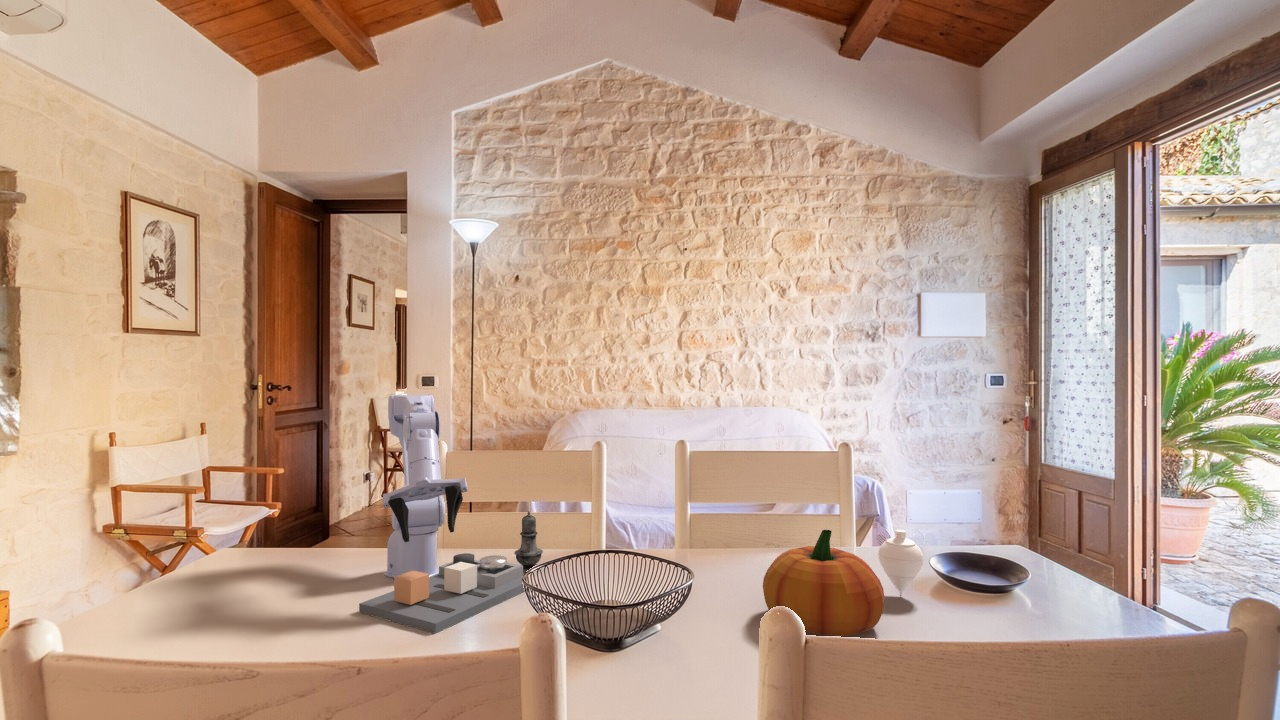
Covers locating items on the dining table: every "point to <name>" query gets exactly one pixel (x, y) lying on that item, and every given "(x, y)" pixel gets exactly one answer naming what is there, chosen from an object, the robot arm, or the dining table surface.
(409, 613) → the panel
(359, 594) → the dining table surface
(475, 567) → the lever middle
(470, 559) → the button black
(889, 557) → the spinning top
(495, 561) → the button silver
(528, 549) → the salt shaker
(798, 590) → the pumpkin
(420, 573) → the lever near
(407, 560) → the robot arm
